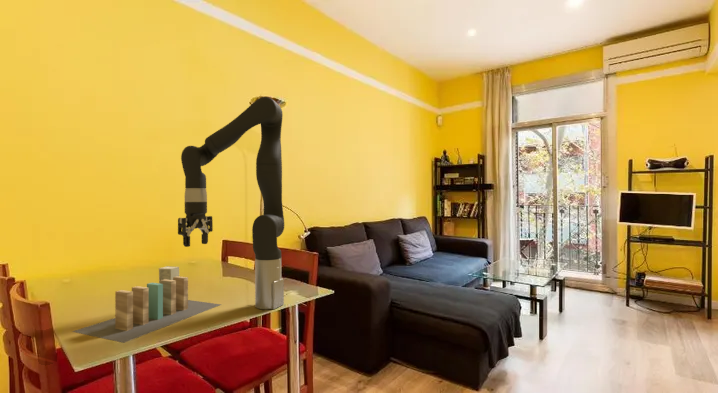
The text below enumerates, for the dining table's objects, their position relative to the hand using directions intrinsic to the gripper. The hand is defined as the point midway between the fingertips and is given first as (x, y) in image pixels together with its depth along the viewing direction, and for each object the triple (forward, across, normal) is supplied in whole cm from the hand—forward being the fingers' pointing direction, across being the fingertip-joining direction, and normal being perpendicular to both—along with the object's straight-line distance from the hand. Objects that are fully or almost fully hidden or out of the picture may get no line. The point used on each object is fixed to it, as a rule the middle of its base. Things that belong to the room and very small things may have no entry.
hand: (196, 245), depth 129 cm
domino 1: (+21, -27, 0) cm, 34 cm away
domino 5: (+21, -7, 0) cm, 23 cm away
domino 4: (+21, -12, 0) cm, 25 cm away
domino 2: (+21, -22, 0) cm, 31 cm away
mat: (+22, -16, +1) cm, 27 cm away
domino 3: (+21, -17, 0) cm, 27 cm away
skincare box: (+22, +2, +16) cm, 27 cm away
